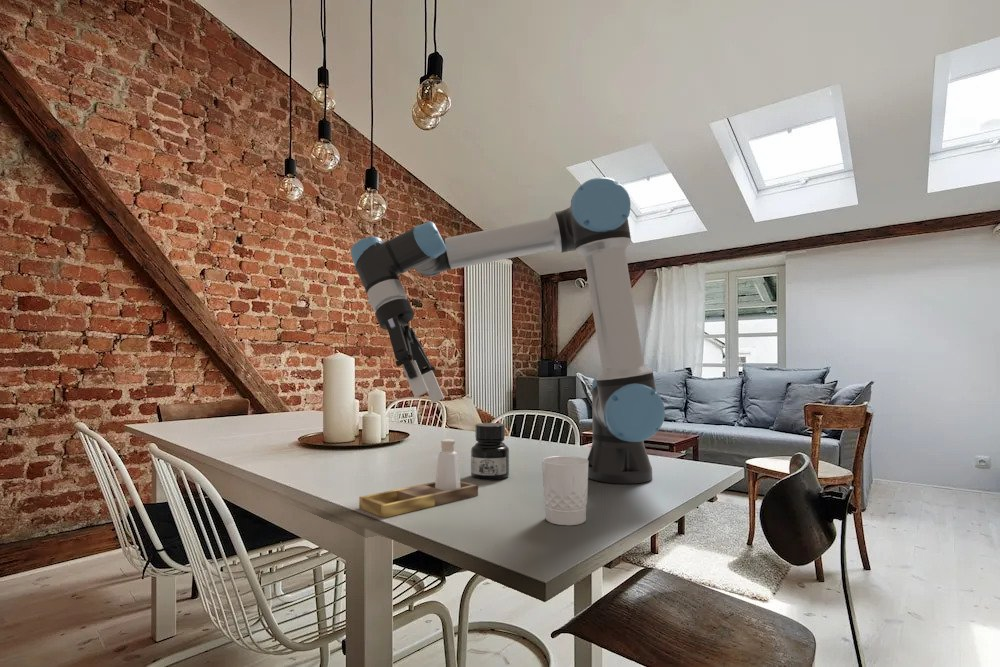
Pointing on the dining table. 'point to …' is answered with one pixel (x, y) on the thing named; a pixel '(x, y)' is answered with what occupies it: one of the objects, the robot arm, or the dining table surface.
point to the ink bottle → (490, 452)
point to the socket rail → (414, 498)
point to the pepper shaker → (447, 467)
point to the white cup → (565, 489)
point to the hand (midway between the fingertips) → (430, 397)
